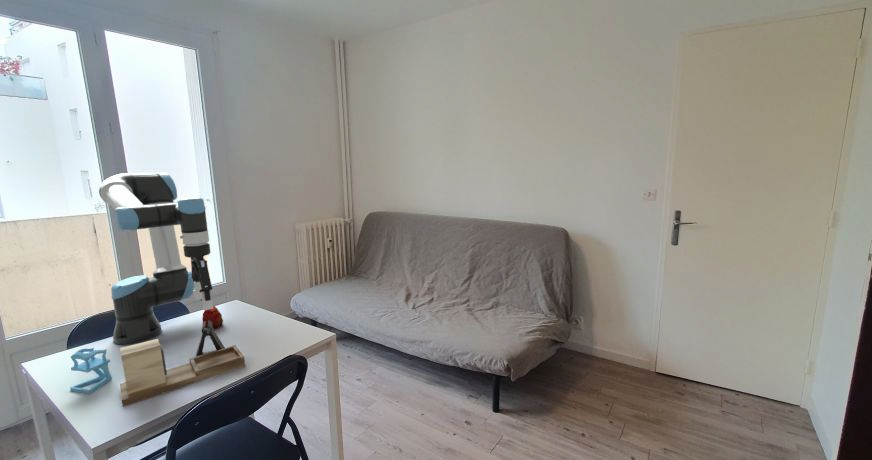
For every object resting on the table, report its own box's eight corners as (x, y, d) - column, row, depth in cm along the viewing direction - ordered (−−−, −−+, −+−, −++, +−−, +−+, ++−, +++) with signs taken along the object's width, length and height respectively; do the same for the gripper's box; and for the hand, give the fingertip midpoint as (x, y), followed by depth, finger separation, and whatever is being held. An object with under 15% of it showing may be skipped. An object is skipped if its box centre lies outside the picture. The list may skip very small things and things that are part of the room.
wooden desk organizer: (120, 389, 115) (119, 379, 115) (236, 354, 136) (235, 345, 135) (122, 406, 107) (120, 395, 106) (245, 366, 128) (244, 356, 127)
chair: (118, 378, 121) (112, 343, 119) (89, 393, 113) (82, 356, 111) (99, 376, 123) (93, 341, 121) (69, 390, 115) (62, 353, 113)
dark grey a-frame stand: (195, 362, 131) (190, 329, 129) (196, 354, 136) (192, 323, 134) (225, 355, 135) (221, 323, 133) (225, 348, 140) (221, 317, 138)
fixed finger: (126, 385, 114) (120, 348, 112) (165, 373, 120) (160, 337, 118) (127, 394, 109) (121, 355, 107) (168, 381, 116) (162, 344, 114)
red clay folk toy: (216, 331, 155) (212, 296, 152) (199, 331, 155) (194, 296, 152) (226, 323, 162) (222, 290, 160) (210, 324, 162) (206, 290, 160)
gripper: (177, 240, 135) (185, 297, 139) (190, 251, 117) (198, 317, 120) (201, 237, 140) (208, 292, 144) (217, 247, 122) (225, 310, 125)
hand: (204, 304), depth 132 cm, fingers open, 13 cm apart
